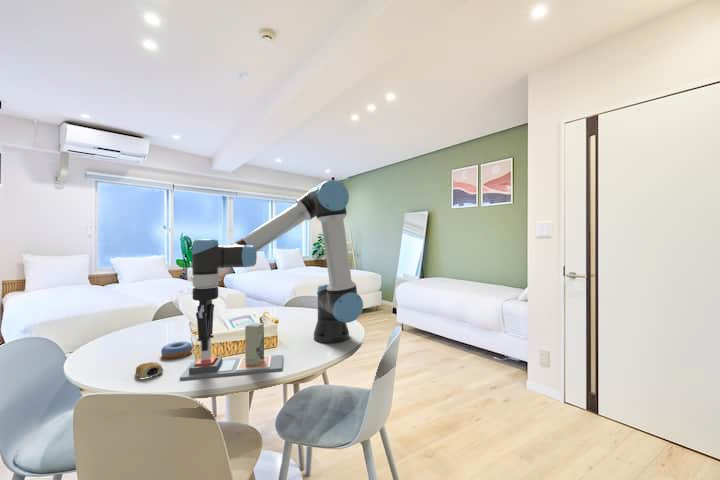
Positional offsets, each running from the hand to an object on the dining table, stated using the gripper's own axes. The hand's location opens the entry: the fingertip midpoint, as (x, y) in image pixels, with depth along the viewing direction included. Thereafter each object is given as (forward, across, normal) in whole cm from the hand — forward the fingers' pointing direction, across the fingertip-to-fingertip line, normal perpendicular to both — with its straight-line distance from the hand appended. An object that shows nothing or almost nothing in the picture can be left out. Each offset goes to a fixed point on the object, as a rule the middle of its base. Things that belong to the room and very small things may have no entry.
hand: (205, 359), depth 102 cm
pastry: (+4, -1, -17) cm, 18 cm away
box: (+3, 0, +15) cm, 15 cm away
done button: (+2, 0, 0) cm, 2 cm away
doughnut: (+4, -18, -14) cm, 23 cm away
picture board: (+4, 0, +9) cm, 10 cm away
